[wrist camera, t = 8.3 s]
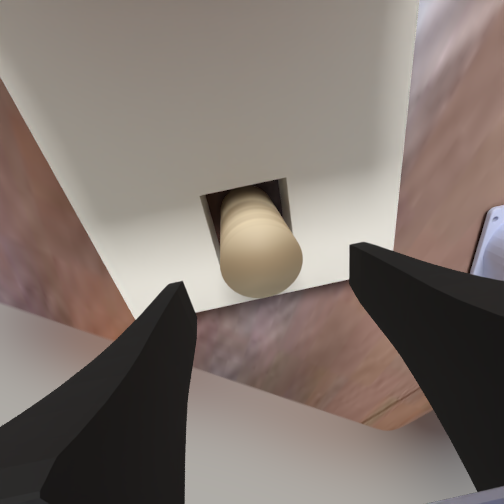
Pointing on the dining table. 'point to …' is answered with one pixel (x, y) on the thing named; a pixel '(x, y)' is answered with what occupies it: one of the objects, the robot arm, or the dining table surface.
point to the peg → (256, 245)
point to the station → (215, 125)
